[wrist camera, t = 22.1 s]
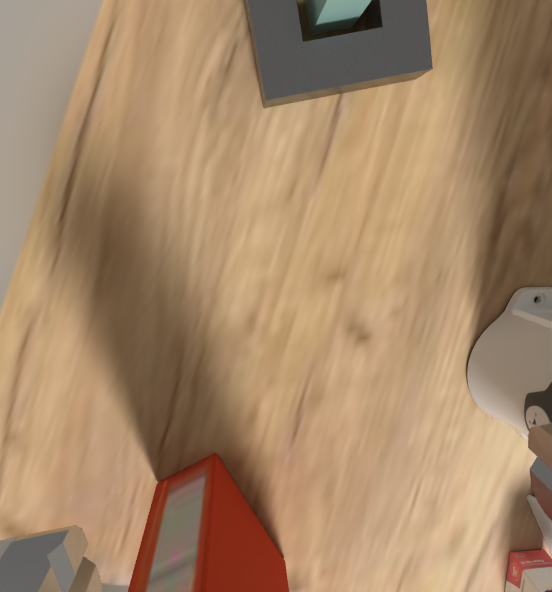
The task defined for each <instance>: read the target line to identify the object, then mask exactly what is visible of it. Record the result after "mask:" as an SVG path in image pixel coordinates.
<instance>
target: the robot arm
mask: <svg viewBox="0 0 552 592" xmlns="http://www.w3.org/2000/svg"><path fill="white" fill-rule="evenodd" d="M536 296H537V300H536V301H535V302H534V298H535V297H536ZM467 379H468V386H469V390H470V393H471V395H472V397H473V399H474V401H475V402H476V404H477V405H478V406H479V407H480V409H481V410H482V411H484V412H485V413H486V414H488V415H489V416H491V417H493V418H495V419H497V420H499V421H501V422H503V423H505V424H507V425H509V426H510V427H512V428H514V429H515V430H516V431H517V432H518V433H519V434H520V435H521V436H522V437H524V438H525V439H527V440H528V448H529V449H530V450H531V451H532V452H533V453H534V454H535V455H536V456H537V458H536V460H535V461H534V463H533V465H532V466H531V468H530V478H531V486H532V489H533V492H534V494H535V497H536V499H537V502H538V503H539V505H540V507H541V508H542V510H543V511H544V513H545V514H546V515H547V516H548V517H549V519H550V520H551V521H552V287H524V288H520V289H519V290H517V291H516V292H515V293H514V295H513V296H512V298H511V299H510V301H509V303H508V305H507V307H506V309H505V311H504V312H503V313H502V315H501V316H500V317H499V318H498V319H496V320H495V321H494V322H493V323H492V324H491V325H490V326H489V327H488V328H487V329H486V330H485V331H484V332H483V334H482V335H481V336H480V338H479V339H478V341H477V342H476V344H475V346H474V348H473V350H472V353H471V356H470V359H469V363H468V370H467ZM87 546H88V541H87V539H86V537H85V534H84V532H83V529H82V528H80V527H78V526H76V525H75V526H70V527H65V528H59V529H54V530H49V531H44V532H39V533H33V534H28V535H23V536H20V537H14V538H9V539H4V540H0V592H102V589H101V581H100V575H99V572H98V569H97V566H96V564H94V563H93V562H91V561H90V560H88V559H87V558H85V557H84V554H85V551H86V549H87Z"/></svg>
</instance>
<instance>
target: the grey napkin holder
mask: <svg viewBox="0 0 552 592" xmlns="http://www.w3.org/2000/svg"><path fill="white" fill-rule="evenodd" d="M526 498H527V500H528V502H529V504H530V507H531V509H532V511H533V514H534V516H535V518H536V521H537V523H538V525H539V528H540V530H541V532H542V535H543V537H544V539H545V541H546V544H547V546H548V548H549V551H550V553H551V555H552V521H551V520H550V519H549V517H548V516H547V515H546V514H545V513H544V511H543V510H542V508H541V507H540V505H539V503H538V502H537V499H536V498H535V497H533V496H532V495H530V494H529V495H528V496H526Z"/></svg>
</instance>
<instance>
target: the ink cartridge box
mask: <svg viewBox="0 0 552 592" xmlns="http://www.w3.org/2000/svg"><path fill="white" fill-rule="evenodd" d="M505 592H552V559H551V557H550V556H549V555H548V554H547V552H546V551H545V550H544V549H542V550H531V551H519V552H510V558H509V566H508V573H507V580H506V587H505Z"/></svg>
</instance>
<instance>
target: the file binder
mask: <svg viewBox="0 0 552 592" xmlns="http://www.w3.org/2000/svg"><path fill="white" fill-rule="evenodd" d="M128 592H289V588H288V580H287V573H286V565H285V561H284V559H283V557H282V556H281V554H280V553H279V551H278V550H277V548H276V546H275V545H274V543H273V542H272V540H271V539H270V537H269V535H268V534H267V532H266V531H265V529H264V528H263V526H262V524H261V523H260V521H259V520H258V518H257V517H256V515H255V513H254V512H253V510H252V509H251V507H250V506H249V504H248V502H247V501H246V499H245V498H244V496H243V494H242V493H241V491H240V490H239V488H238V487H237V485H236V483H235V482H234V480H233V479H232V477H231V476H230V474H229V472H228V471H227V469H226V468H225V466H224V465H223V463H222V461H221V460H220V458H219V457H218V455H217V454H216V453H214V454H212V455H210V456H208V457H206V458H205V459H203V460H201V461H199V462H197V463H195V464H193V465H191V466H189V467H187V468H185V469H183V470H181V471H179V472H177V473H175V474H173V475H171V476H169V477H168V478H166V479H164V480H162V481H161V482H160V483H158V484H157V486H156V489H155V493H154V497H153V501H152V504H151V508H150V512H149V515H148V519H147V523H146V526H145V530H144V534H143V538H142V541H141V545H140V549H139V552H138V556H137V560H136V564H135V567H134V571H133V575H132V578H131V582H130V586H129V590H128Z"/></svg>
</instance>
